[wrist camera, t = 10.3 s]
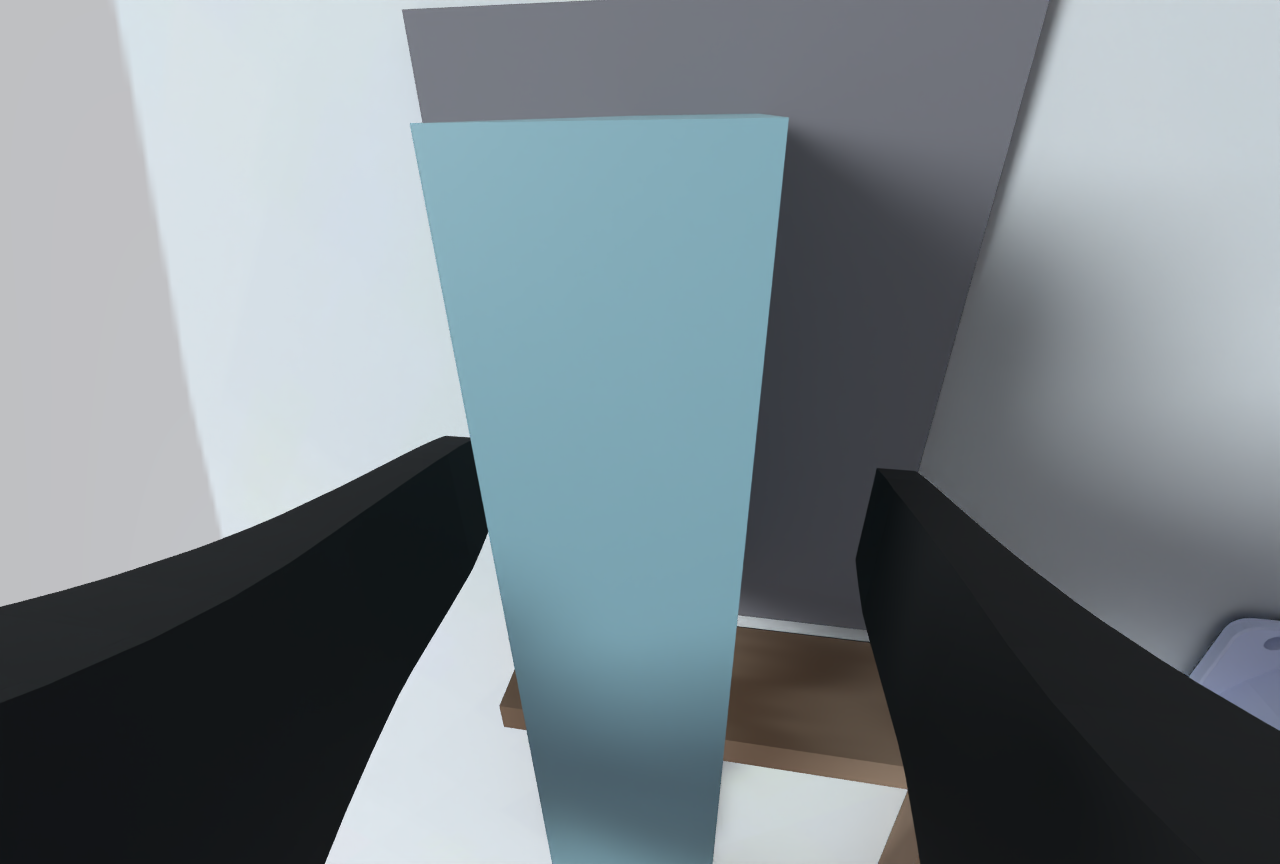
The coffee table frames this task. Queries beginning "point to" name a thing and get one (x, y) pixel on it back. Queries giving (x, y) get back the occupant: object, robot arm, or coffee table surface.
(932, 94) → the mat
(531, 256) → the teal rectangular block
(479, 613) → the coffee table surface
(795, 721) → the rack
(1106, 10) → the coffee table surface
